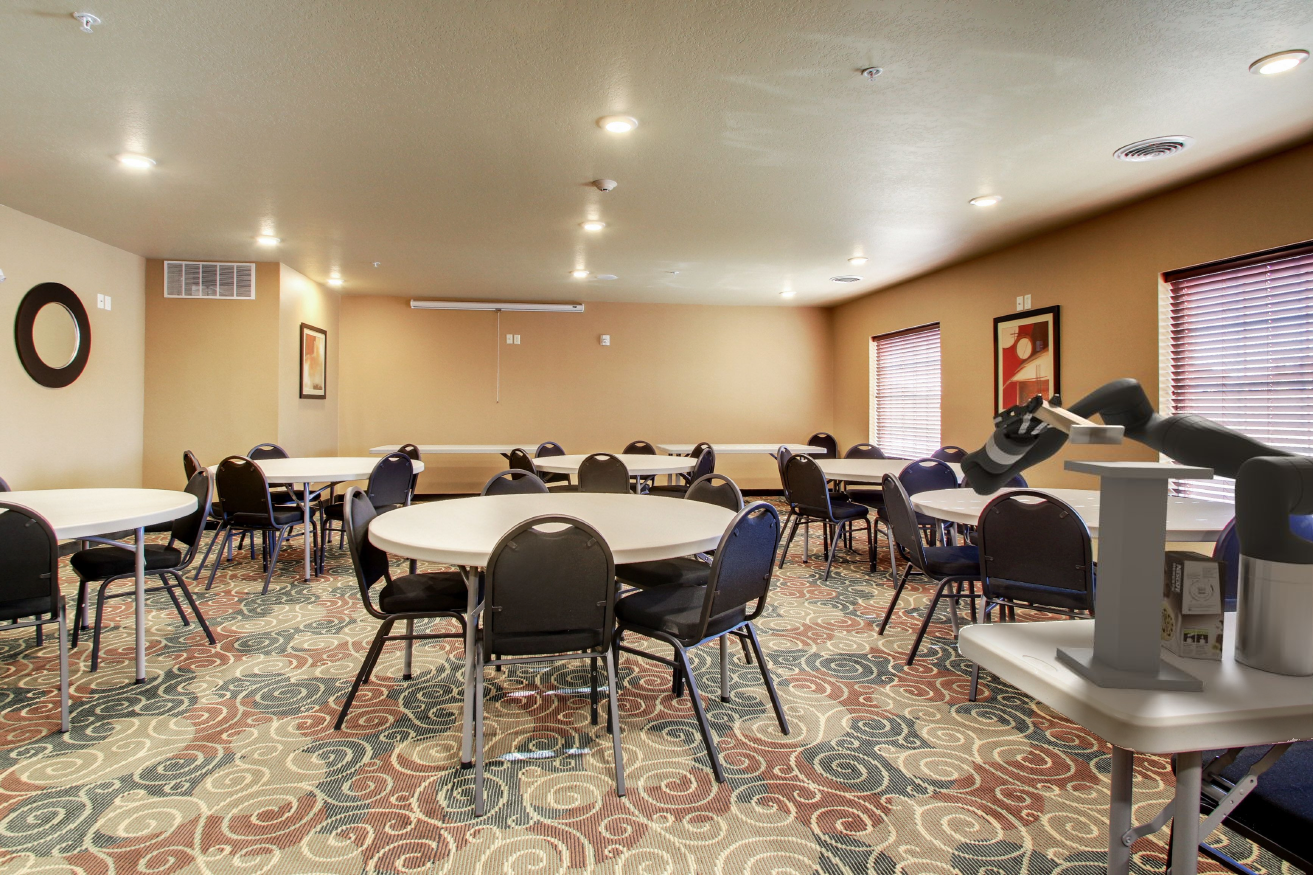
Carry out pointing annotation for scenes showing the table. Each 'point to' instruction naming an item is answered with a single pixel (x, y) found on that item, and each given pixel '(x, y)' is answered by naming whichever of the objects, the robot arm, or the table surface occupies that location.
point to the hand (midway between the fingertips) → (1049, 398)
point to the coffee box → (1193, 604)
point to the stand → (1131, 577)
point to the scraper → (1079, 426)
